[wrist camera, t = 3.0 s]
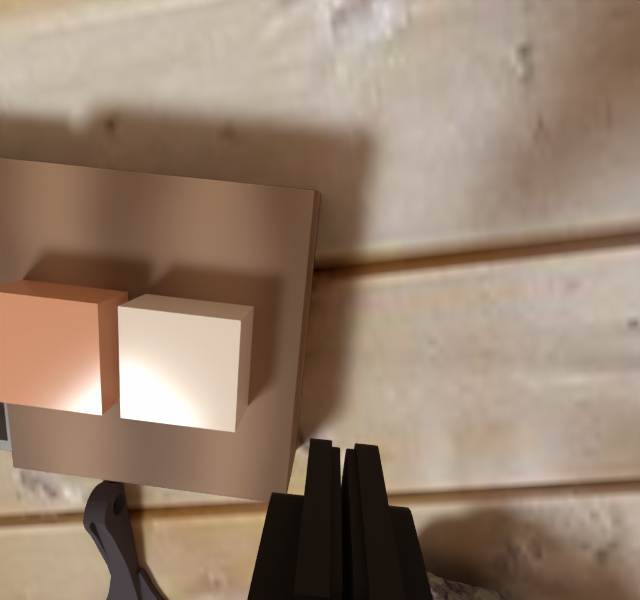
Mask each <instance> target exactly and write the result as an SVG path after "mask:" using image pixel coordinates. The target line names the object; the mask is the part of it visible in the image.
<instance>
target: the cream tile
mask: <svg viewBox="0 0 640 600" xmlns="http://www.w3.org/2000/svg"><path fill="white" fill-rule="evenodd" d="M253 314H254V306H246V305H237V304H229V303H220V302H211V301H203V300H194V299H185V298H177V297H168V296H160V295H151V294H144V295H142V296H140V297H137V298H135V299H133V300H131V301H128V302H126V303H124V304H122V305H119V306H118V334H119V372H120V409H121V418H127V419H135V420H142V421H150V422H158V423H166V424H173V425H181V426H189V427H196V428H204V429H212V430H220V431H227V432H235V431H236V429H237V427H238V425H239V423H240V421H241V419H242V417H243V415H244V413H245V411H246V409H247V407H248V394H249V378H250V362H251V346H252V330H253Z"/></svg>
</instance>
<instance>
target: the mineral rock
mask: <svg viewBox="0 0 640 600" xmlns="http://www.w3.org/2000/svg"><path fill="white" fill-rule="evenodd" d="M426 573H427V577H428V581H429V585H430V589H431V593H432V597H433V600H505V599H504V598H503V596H501V595H500V594H499V593H497V591H494V590H490V589H487V588H483V587H478V586H472V585H467V584H464V583H460V582H453V581H450V580H446V579H443V578H440V577H437V576H435V575H434V574H433V573H431V572H427V571H426Z"/></svg>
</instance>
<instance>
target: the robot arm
mask: <svg viewBox="0 0 640 600" xmlns="http://www.w3.org/2000/svg"><path fill="white" fill-rule="evenodd" d="M247 600H433V597H432V593H431V589H430V585H429V581H428V577H427V573H426V569H425V565H424V561H423V557H422V553H421V549H420V545H419V541H418V537H417V533H416V529H415V525H414V521H413V517H412V514H411V511H410V509H409V508H406V507H397V506H389V504H388V499H387V493H386V488H385V482H384V477H383V471H382V465H381V460H380V454H379V449H378V446H375V445H366V444H358V443H356V444H355V446H354V449H346V454H345V461H344V468H343V476H342V484H341V471H340V448H338V447H332V441H331V440H322V439H313V438H310V447H309V456H308V465H307V474H306V484H305V493H304V496H302V495H293V494H285V493H276V492H272V494H271V497H270V501H269V506H268V510H267V515H266V519H265V523H264V528H263V532H262V537H261V541H260V546H259V550H258V555H257V559H256V563H255V568H254V572H253V577H252V581H251V586H250V590H249V595H248V599H247Z"/></svg>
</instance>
